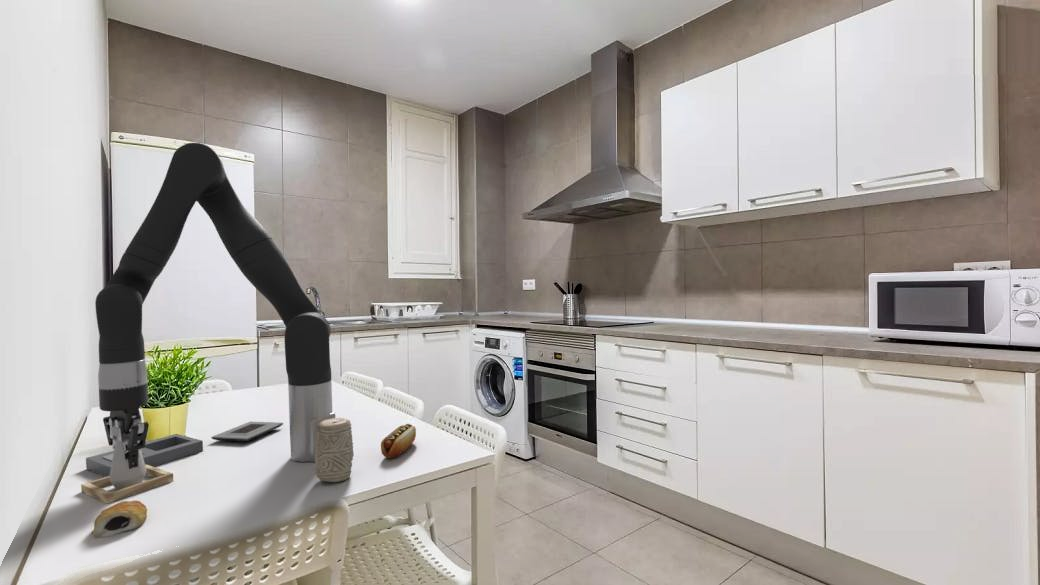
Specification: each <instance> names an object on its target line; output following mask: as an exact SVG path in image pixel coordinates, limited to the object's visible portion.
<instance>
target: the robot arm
mask: <svg viewBox="0 0 1040 585" xmlns="http://www.w3.org/2000/svg"><path fill="white" fill-rule="evenodd" d="M196 202H197V203H198V204H199V206H200V207H201V208H202V209H203V211H204V212H205V213H206V215H207V216H208V217H209V219H210V221H211V222H212V224H213V226H214V228H215V230H216V232H217V234H218V236H219V238H220V240H221V242H222V243H223V246H224V247H225V249H226V250H227V253H228V254H229V256H230V258H232V260H233V262H234V263H235V264H236V266H237V267H238V269H239V271H240V272H241V273H242V275H243V276H244V278H246V279H247V281H248V282H249V283H250V284H251V285H252V286H253V287H254V288H255V289H256V290H257V291H258V292H259V293H260V294H261V295H262V296H263V297H264V298H265V299H266V300H267V301H268V302H269V303H270V304H271V305H272V306H273V308H274V309H275V311H276V312H277V313H278V316H279V317H280V318H281V320H282V322H283V324H284V325H285V330H284V354H285V356H284V357H285V369H286V370H285V372H286V375H287V383H288V384H287V385H288V387H287V390H288V417H289V440H290V442H289V444H290V445H289V446H290V459H291V460H292V461H295V462H299V461H300V462H301V463H302V462H303V463H305V462H314V463H315V450H316V443H315V441H316V432H317V427H318V425H319V423H320V422H321V421H323V420H327V419H332V418H336V413H335V412H333V388H332V387H333V386H332V385H333V384H332V366H331V358H330V357H331V355H330V352H331V351H330V350H331V349H330V337H331V326H330V322H329V321H328V319H327V318H326V316H324V315H323V314H322V312H321V311H320V310H319V309H318V308H317V307H316V306H315V305H314V303H313V302H312V301H311V300H310V298H309V296H308V295H307V294H306V293H305V292H304V290H303V288H302V287H301V285H300V284H299V281H298V280H297V278H296V276H295V273H294V271H292V269H291V267H290V265H289V262H287V260H286V258H285V256H284V255H283V253H282V251H281V250H280V249H279V248H280V247H278V245H277V244H276V243H275V241H274V239H273V238H272V236H271V235H270V234H269V233H268V231H267V230H266V228H265V227H264V226H263V225H262V224H261V223H260V222H259V220H257V219H256V217H255V216H254V215H253V214H252V213H251V212H250V211H249V210H248V209H247V208H246V206H244V204H243V202H242V201H241V200H240V198H239V196H238V195H237V193H236V191H235V188H233V186H232V182H230V180H229V177H228V175H227V173H226V171H225V167H224V164H223V161H222V159H221V157H220V155H219V154H218V153H217V152H216V151H215V150H214V149H213V148H212V147H210V146H209V145H206V144H205V143H204V144H203V143H200V142H189V143H185V144H182V145H181V146H179V147H178V148H177V149H176V150H174V152H173V154H172V157H171V161H170V163H169V166H168V169H167V171H166V174H165V177H164V180H163V182H162V185H161V186H160V189H159V190H158V193H157V196H156V198H155V200H154V202H153V204H152V206H151V207H150V209H149V211H148V213H147V215H146V217H145V218H144V220H143V221H142V223H141V224H140V227H139V228H138V230H137V231H136V232H135V234H134V236H133V237H132V239H131V240H130V243H129V244H128V246H127V248H126V249H125V251H124V253H123V254H122V256H121V257H120V259H119V260H120V261H119V264H118V267H117V268H116V270H115V271H114V272H113V274H112V275H111V277H110V279H109V280H108V282H107V284H106V285H105V286H104V287H103V289H101V290H100V291H99V292H98V294H97V295H96V296H95V297H96V298H95V316H96V323H97V328H98V334H99V335H98V336H99V338H98V339H99V340H98V363H99V366H98V375H97V378H98V380H97V381H98V382H97V383H98V402H99V405H98V406H99V409H100V410H101V411H103V412H109V415H108V416H105V417H103V419H102V422H103V425H104V429H105V430H104V431H105V433H106V434H105V435H106V438H107V442H108V445H109V446H110V447H111V446H112V449H113V450H112V451H114V450H115V443H116V437H115V436H113V435H112V427H113V426H114V425H115V427H116V428H118V431H119V436H118V439H119V442H122V445H123V452H124V454H125V460H127V459H128V461H129V462H128V463H129V469H132V468H135V467H138V458H139V454H138V450H140V449H142V448H144V447H145V442H147V436H148V431H149V427H150V426H149V425H150V424H149V422H148V421H144V422H142V415H141V412H140V408H141V407H143V406H146V405H147V404H148V403H149V387H148V385H149V384H148V368H147V364H146V356H145V355H146V352H145V351H146V350H145V341H144V340H145V339H144V336H143V335H144V334H143V332H142V331H143V304H144V302H145V301H146V298H147V296H148V294H149V293H150V291H151V289H152V287H153V285H154V283H155V281H156V279H158V277H159V276H160V275H161V273H162V272H163V271H164V268H165V267H166V265H167V264H168V262H169V260H171V257H172V255H173V253H174V251H175V249H176V247H177V246H178V244H179V241H180V238H181V235H182V233H183V230H184V228H185V224H186V222H187V219H188V217H189V215H190V213H191V211H192V209H193V207H194V206H195V204H196ZM123 430H124V431H123ZM124 434H130V436H128V437H125V436H124ZM134 442H135V444H134ZM132 455H133V456H132ZM133 463H134V464H133Z"/></svg>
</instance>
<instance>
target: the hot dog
mask: <svg viewBox="0 0 1040 585" xmlns="http://www.w3.org/2000/svg"><path fill="white" fill-rule="evenodd" d="M416 435H417V429H416V426H414V425H412V424H411V423H406V424H403V425H400V426H398V427H397V428H395V429H394V430H393V431H392V432H390V433H389V434H388V435H387V436H385V437H384V438H383V439H382V440H381V442H380V450H381V454H382V456H384V458H388V459H394V458H397V457H398V456H400V455H402V454H403V453H404V452H405V451H406V450H407V449H409V448H410V446H412V445H413V443H414V441H415V440H416Z"/></svg>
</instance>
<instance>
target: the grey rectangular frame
mask: <svg viewBox="0 0 1040 585" xmlns="http://www.w3.org/2000/svg"><path fill="white" fill-rule="evenodd" d="M203 451H204V443H203V440H202V439H198V438H193V437H190V436H186V435H182V434H179V433H174V434H171V435H166V436H164V437H163V436H162V437H160V438H156V439H153V440H148V441H146V442H145V447H144V448H142V449H141V452H142V456H143V459H144V463H145V465H150V466H152V467H156V466H159V465H162V464H165V463H168V462H169V463H170V462H171V461H175V460H179V459H181V458H184V457H188V456H191V455H194V454H198V453H200V452H203ZM113 455H114V450H111V451H107V452H103V453H100V454H96V455H93V456H89V457H85V469H86V468H87V469H89V470H88V471H90V470H91V471H90V472H92V471H93V473H95V474H97V475H100V476H101V477H102V476H103V477H107V476H110V471H111V465H112V460H113ZM87 469H86V470H87Z"/></svg>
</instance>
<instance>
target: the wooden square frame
mask: <svg viewBox="0 0 1040 585" xmlns="http://www.w3.org/2000/svg"><path fill="white" fill-rule="evenodd" d="M145 466H146V474H145V476H148V477H151V478H150V479H147V480H143V481H142V482H141V483H138V484H135V485H132V486H129V487H126V488H123V489H120V490H114V491H113V490H112V491H110V490H106V489H105V488H103V487H106V486H110V485H112V484H111V482H110V481H109V476H107V477H105V476H103V477H101V478H98V479H94V480H91V481H88V482H85V483H81V484H80V486H81V488H80V489H81V493H83V492H84V493H83V494H86V495H88V496H90V497H92V498H95V499H96V500H99V501H101V502H104V503H105V504H109V503H112V502H116V501H119V500H121V499H125V498H128V497H131V496H133V495H136V494H139V493H142V492H145V491H147V490H150V489H154V488H157V487H159V486H162V485H165V484H168V483H171V482H173V481H174V473H173V472H169V471H167V470H164V469H160V468H158V467H156V466H153V467H152V466H150V465H145Z"/></svg>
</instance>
